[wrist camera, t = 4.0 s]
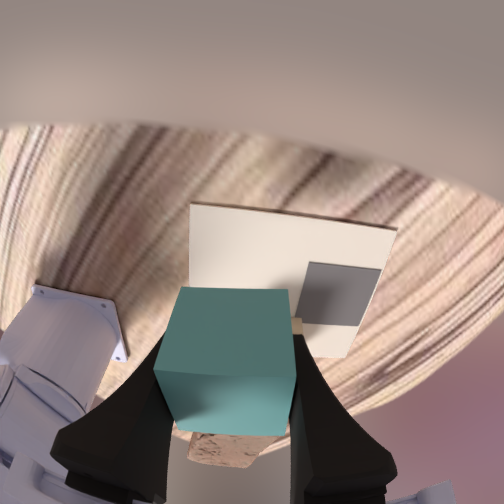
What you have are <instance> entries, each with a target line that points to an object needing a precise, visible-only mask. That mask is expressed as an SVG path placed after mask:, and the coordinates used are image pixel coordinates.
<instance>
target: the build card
mask: <svg viewBox="0 0 504 504" xmlns="http://www.w3.org/2000/svg"><path fill="white" fill-rule="evenodd" d="M396 234H397V231H396V230H391V229H385V228H379V227H373V226H367V225H360V224H354V223H347V222H341V221H334V220H327V219H320V218H312V217H305V216H298V215H290V214H282V213H274V212H266V211H258V210H249V209H240V208H231V207H222V206H212V205H202V204H192V203H191V204H190V221H189V287H206V288H245V289H288V294H289V304H290V313H291V317H296V318H302V326H303V336H304V338H305V341H306V344H307V346H308V349H309V351H310V353H311V355H312V357H325V358H345V357H346V355H347V353H348V351H349V349H350V347H351V344H352V342H353V340H354V338H355V336H356V334H357V332H358V330H359V327H360V325H361V323H362V321H363V318H364V316H365V314H366V312H367V309H368V307H369V305H370V302H371V300H372V298H373V295H374V293H375V290H376V288H377V285H378V283H379V280H380V278H381V275H382V273H383V270H384V267H385V265H386V262H387V259H388V256H389V254H390V251H391V248H392V245H393V242H394V240H395V237H396Z"/></svg>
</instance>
